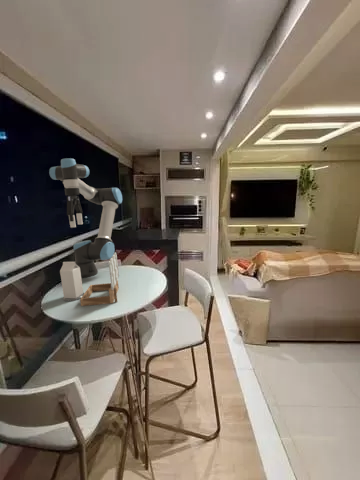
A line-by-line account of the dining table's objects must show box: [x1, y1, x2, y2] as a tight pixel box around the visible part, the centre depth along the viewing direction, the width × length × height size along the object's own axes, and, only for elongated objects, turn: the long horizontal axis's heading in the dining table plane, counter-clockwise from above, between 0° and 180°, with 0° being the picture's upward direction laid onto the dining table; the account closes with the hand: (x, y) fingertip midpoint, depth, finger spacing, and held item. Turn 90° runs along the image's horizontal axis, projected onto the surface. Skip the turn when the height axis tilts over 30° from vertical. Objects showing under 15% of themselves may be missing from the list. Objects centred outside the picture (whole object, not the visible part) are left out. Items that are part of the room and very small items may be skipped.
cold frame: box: [79, 252, 120, 307], centre depth 135 cm, size 20×17×21 cm
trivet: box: [62, 292, 85, 302], centre depth 138 cm, size 11×11×1 cm
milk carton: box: [59, 261, 84, 298], centre depth 137 cm, size 7×7×19 cm
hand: (76, 225), depth 147 cm, fingers open, 13 cm apart
